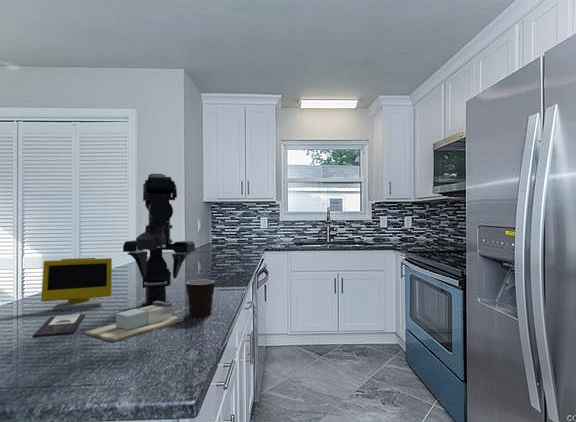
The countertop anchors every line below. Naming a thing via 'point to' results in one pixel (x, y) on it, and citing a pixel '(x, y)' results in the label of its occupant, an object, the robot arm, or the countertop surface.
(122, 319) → the stub
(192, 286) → the coffee mug
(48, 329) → the chocolate bar
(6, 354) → the countertop surface
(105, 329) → the board
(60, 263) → the toy computer monitor
